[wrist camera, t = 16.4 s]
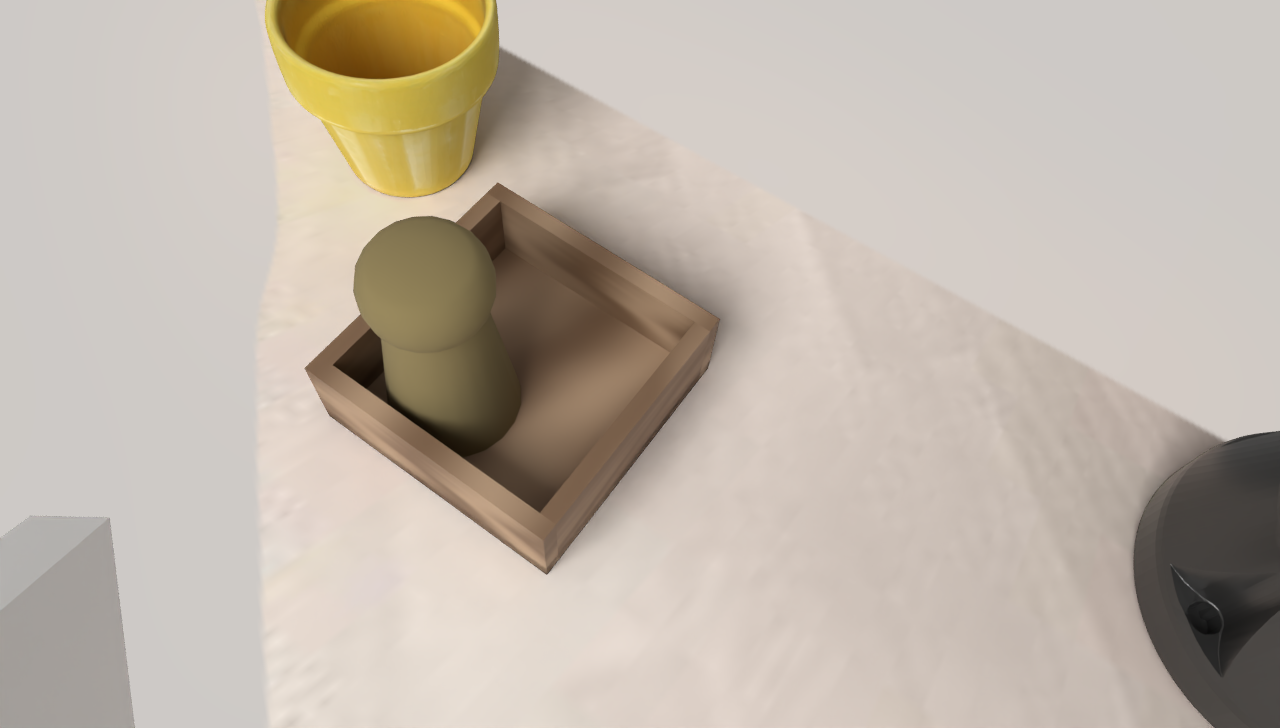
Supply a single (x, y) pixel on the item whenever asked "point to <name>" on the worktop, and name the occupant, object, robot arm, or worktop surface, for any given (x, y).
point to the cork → (439, 331)
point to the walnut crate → (541, 380)
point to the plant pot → (391, 81)
